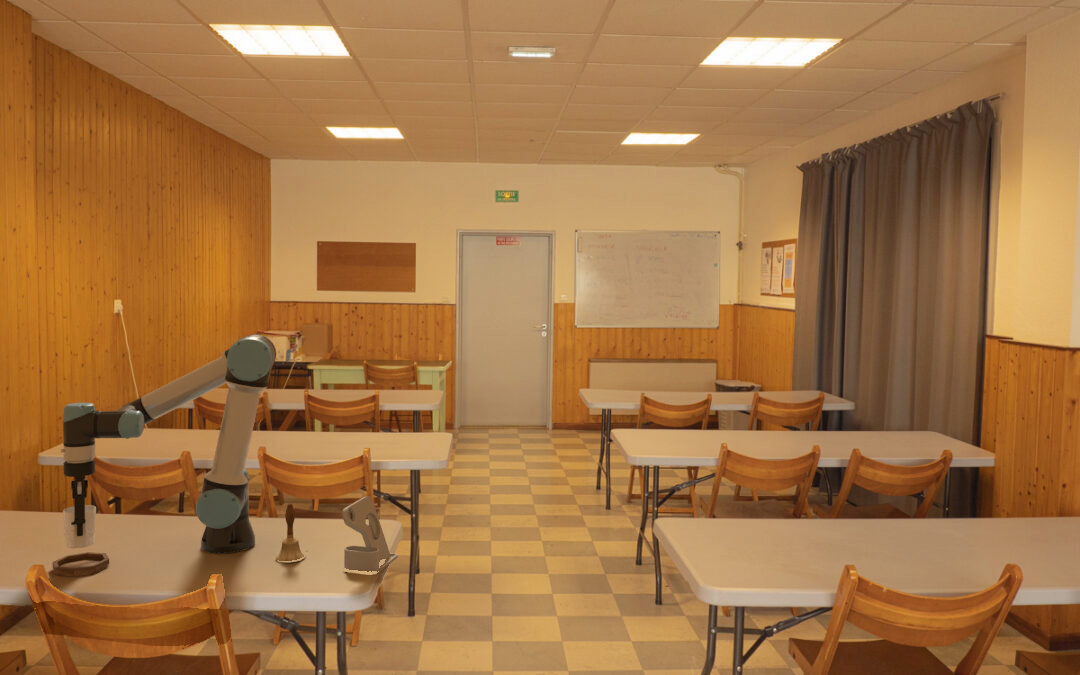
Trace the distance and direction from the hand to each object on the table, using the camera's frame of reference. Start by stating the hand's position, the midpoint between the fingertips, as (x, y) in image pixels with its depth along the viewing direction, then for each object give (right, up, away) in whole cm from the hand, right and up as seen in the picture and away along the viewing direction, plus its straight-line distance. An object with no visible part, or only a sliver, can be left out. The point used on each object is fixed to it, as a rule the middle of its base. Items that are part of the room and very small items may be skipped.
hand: (80, 542), depth 224 cm
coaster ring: (0, -7, 0) cm, 7 cm away
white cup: (0, -1, 0) cm, 1 cm away
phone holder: (+78, -9, +9) cm, 79 cm away
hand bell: (+54, -8, +11) cm, 56 cm away
